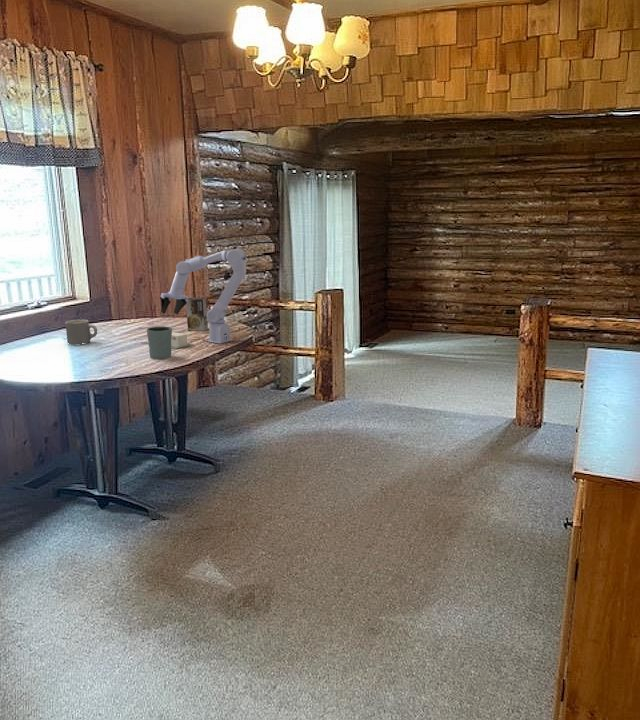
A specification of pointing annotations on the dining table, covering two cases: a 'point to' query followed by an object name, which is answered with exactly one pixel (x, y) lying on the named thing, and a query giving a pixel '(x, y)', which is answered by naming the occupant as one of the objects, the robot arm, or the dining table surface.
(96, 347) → the dining table surface
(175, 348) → the mat
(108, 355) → the dining table surface
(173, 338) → the cream rectangular block
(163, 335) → the green tapered cup
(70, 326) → the coffee mug
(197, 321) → the coffee box
